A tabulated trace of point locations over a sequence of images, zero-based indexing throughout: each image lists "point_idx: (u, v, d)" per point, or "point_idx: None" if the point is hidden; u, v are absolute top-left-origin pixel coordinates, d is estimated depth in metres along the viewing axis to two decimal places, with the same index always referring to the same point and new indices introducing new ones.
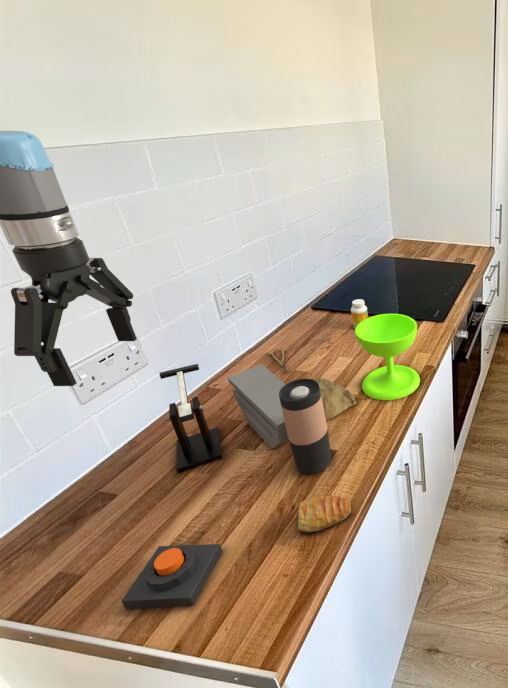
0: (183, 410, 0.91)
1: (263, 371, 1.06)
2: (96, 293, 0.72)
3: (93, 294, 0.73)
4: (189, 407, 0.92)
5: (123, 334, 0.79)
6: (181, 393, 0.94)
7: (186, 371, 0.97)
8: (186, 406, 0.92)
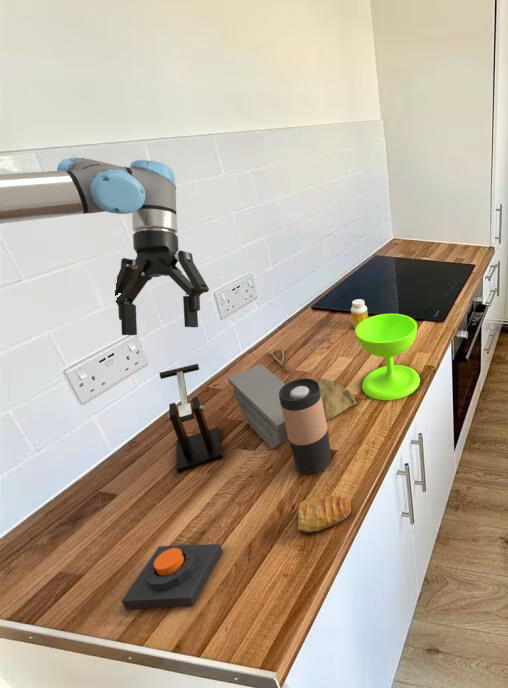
0: (183, 410, 0.91)
1: (263, 371, 1.06)
2: (143, 282, 0.93)
3: (139, 283, 0.92)
4: (189, 407, 0.92)
5: (130, 327, 0.92)
6: (181, 393, 0.94)
7: (186, 371, 0.97)
8: (186, 406, 0.92)
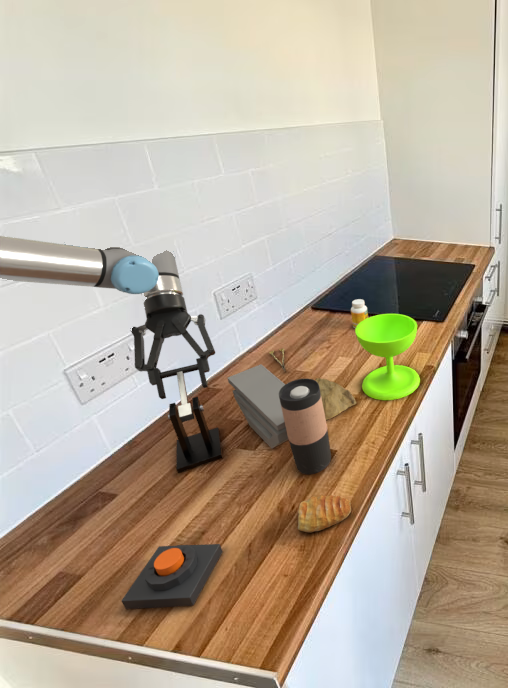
0: (183, 410, 0.91)
1: (262, 372, 1.06)
2: (161, 345, 0.98)
3: (160, 345, 0.97)
4: (189, 407, 0.92)
5: (163, 390, 0.94)
6: (181, 393, 0.94)
7: (186, 371, 0.97)
8: (186, 406, 0.92)
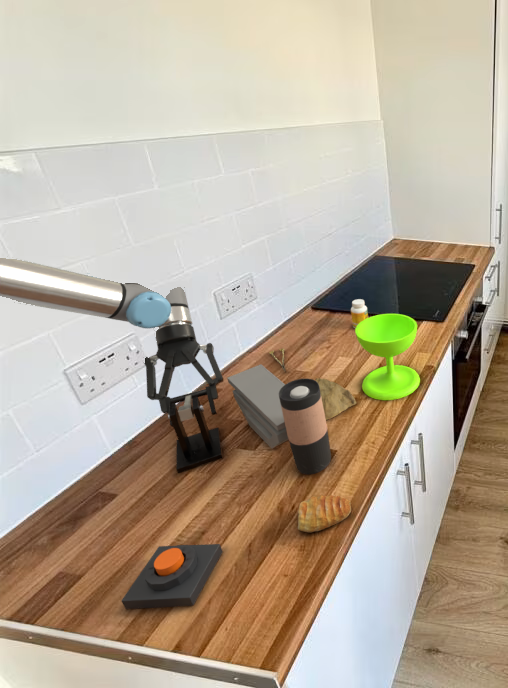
0: (183, 407, 0.91)
1: (262, 372, 1.06)
2: (171, 374, 1.02)
3: (170, 374, 1.01)
4: (189, 405, 0.92)
5: None
6: (185, 403, 0.95)
7: (194, 395, 1.01)
8: (186, 405, 0.92)
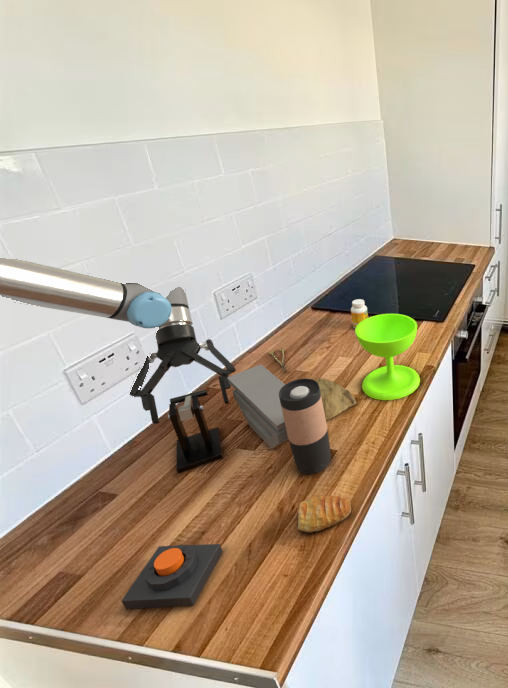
0: (183, 407, 0.91)
1: (262, 372, 1.06)
2: (163, 373, 1.01)
3: (162, 374, 1.00)
4: (189, 405, 0.92)
5: (156, 416, 0.97)
6: (185, 403, 0.95)
7: (195, 395, 1.01)
8: (187, 405, 0.92)
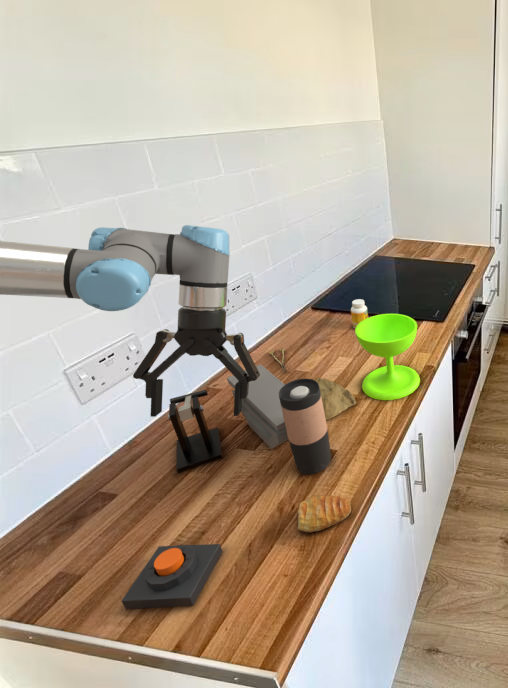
0: (183, 407, 0.91)
1: (262, 372, 1.06)
2: (178, 358, 0.83)
3: (175, 360, 0.82)
4: (189, 405, 0.92)
5: (158, 406, 0.83)
6: (185, 403, 0.95)
7: (195, 395, 1.01)
8: (187, 405, 0.92)
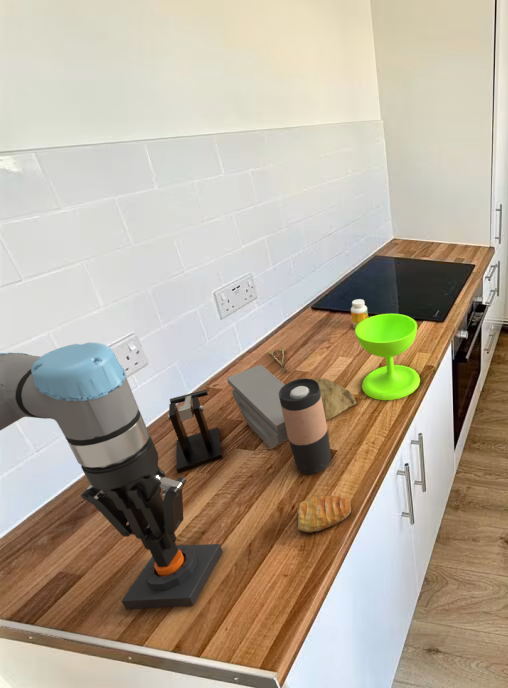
0: (183, 407, 0.91)
1: (262, 372, 1.06)
2: None
3: None
4: (189, 405, 0.92)
5: None
6: (185, 403, 0.95)
7: (195, 395, 1.01)
8: (187, 405, 0.92)
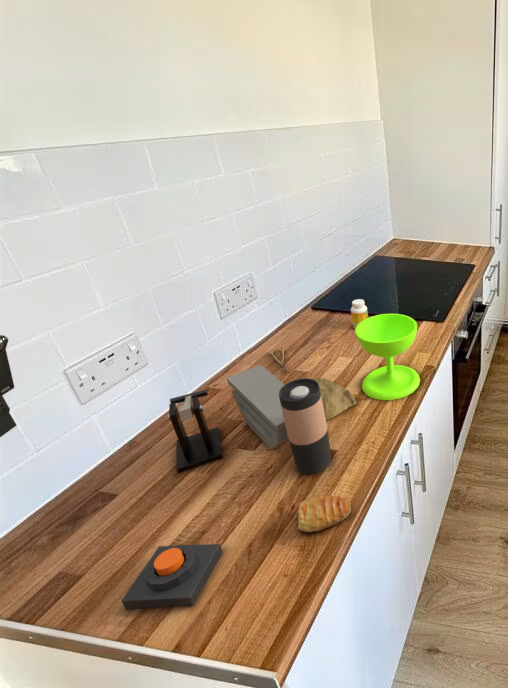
0: (183, 407, 0.91)
1: (262, 372, 1.06)
2: None
3: None
4: (189, 405, 0.92)
5: None
6: (185, 403, 0.95)
7: (195, 395, 1.01)
8: (187, 405, 0.92)
